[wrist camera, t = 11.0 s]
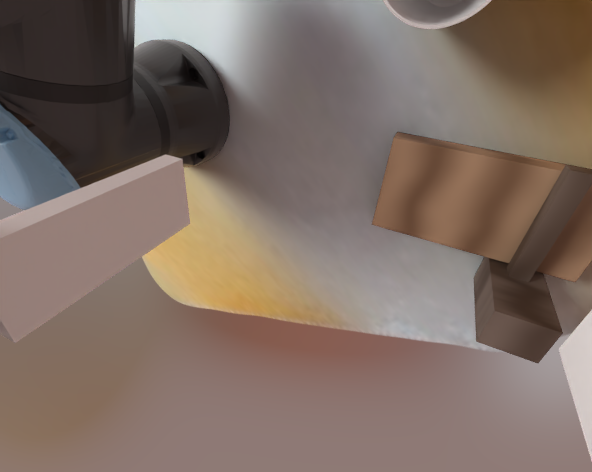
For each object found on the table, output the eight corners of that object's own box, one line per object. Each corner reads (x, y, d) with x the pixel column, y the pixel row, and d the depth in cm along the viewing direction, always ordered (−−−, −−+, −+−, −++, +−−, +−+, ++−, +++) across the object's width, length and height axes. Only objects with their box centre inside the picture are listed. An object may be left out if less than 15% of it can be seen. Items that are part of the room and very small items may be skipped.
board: (376, 215, 39) (371, 224, 37) (397, 131, 33) (393, 137, 31) (568, 268, 33) (575, 282, 31) (634, 177, 27) (646, 187, 26)
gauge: (470, 284, 38) (472, 348, 30) (538, 151, 29) (565, 194, 21) (517, 299, 36) (532, 370, 29) (604, 164, 28) (659, 214, 20)
